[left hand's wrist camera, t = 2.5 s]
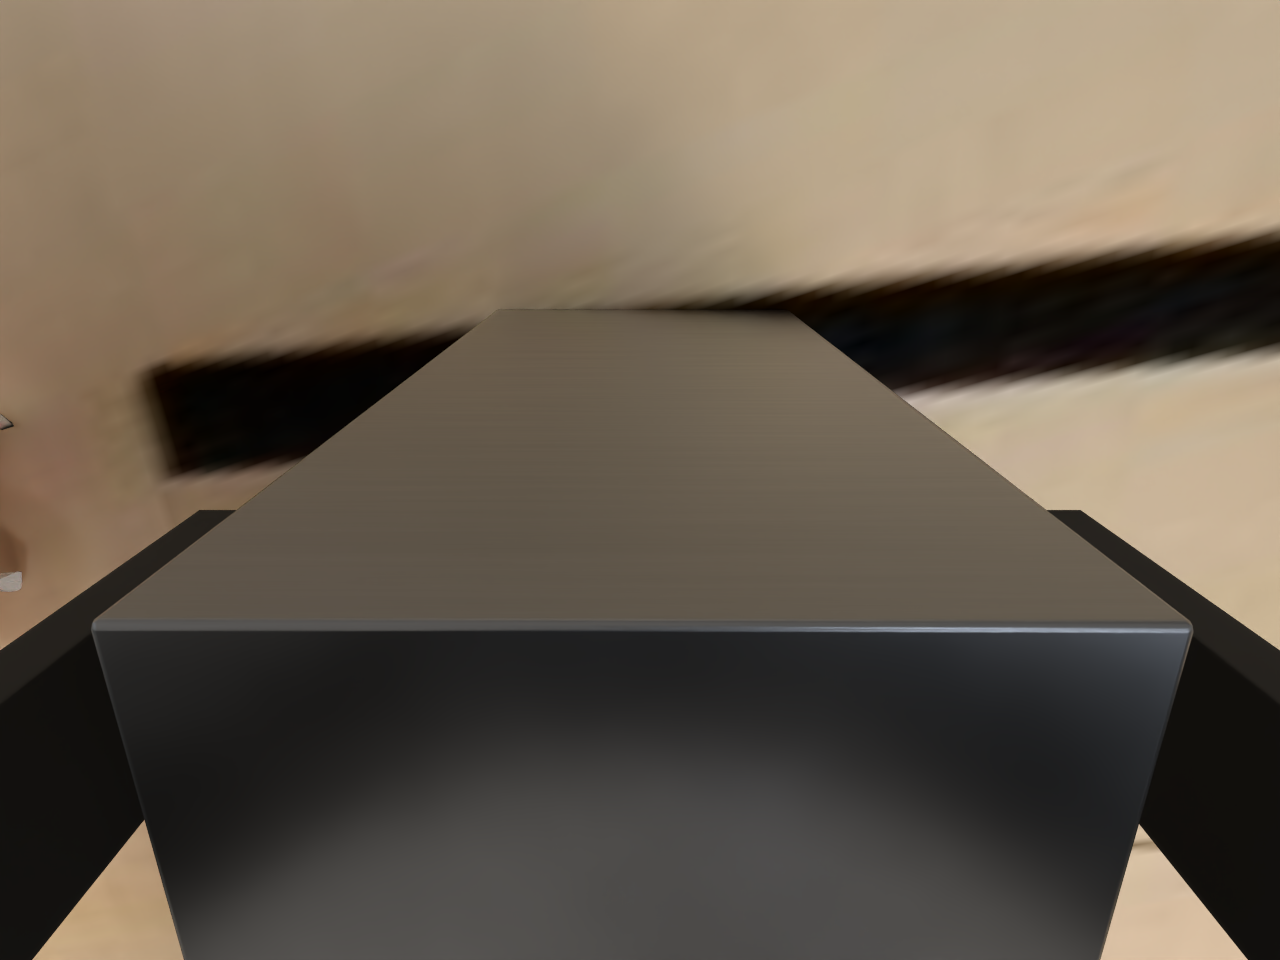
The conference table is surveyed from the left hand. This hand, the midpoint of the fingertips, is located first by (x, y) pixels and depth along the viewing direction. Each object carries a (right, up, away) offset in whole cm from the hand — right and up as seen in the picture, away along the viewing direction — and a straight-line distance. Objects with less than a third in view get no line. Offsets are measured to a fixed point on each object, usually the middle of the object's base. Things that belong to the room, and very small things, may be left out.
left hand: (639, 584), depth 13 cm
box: (0, -6, +7) cm, 10 cm away
